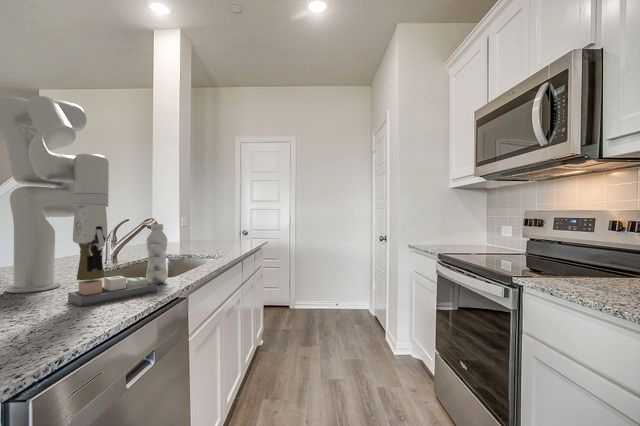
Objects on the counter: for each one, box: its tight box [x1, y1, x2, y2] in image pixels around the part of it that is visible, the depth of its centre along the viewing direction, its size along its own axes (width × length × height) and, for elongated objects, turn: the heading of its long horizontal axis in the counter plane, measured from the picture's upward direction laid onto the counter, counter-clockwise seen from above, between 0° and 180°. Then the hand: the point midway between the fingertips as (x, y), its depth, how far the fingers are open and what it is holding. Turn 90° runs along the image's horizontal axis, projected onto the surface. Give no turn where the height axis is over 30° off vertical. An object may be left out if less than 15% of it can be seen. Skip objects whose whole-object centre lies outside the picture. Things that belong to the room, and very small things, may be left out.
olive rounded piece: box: [76, 241, 105, 281], centre depth 84 cm, size 6×6×11 cm
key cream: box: [103, 275, 127, 291], centre depth 89 cm, size 4×4×3 cm
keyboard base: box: [67, 282, 158, 309], centre depth 89 cm, size 9×19×2 cm, turn 145°
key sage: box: [126, 276, 148, 289], centre depth 94 cm, size 4×4×3 cm
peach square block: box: [78, 279, 103, 295], centre depth 84 cm, size 4×4×3 cm
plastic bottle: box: [145, 223, 168, 285], centre depth 106 cm, size 6×7×20 cm
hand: (91, 269), depth 84 cm, fingers closed on olive rounded piece, 4 cm apart
